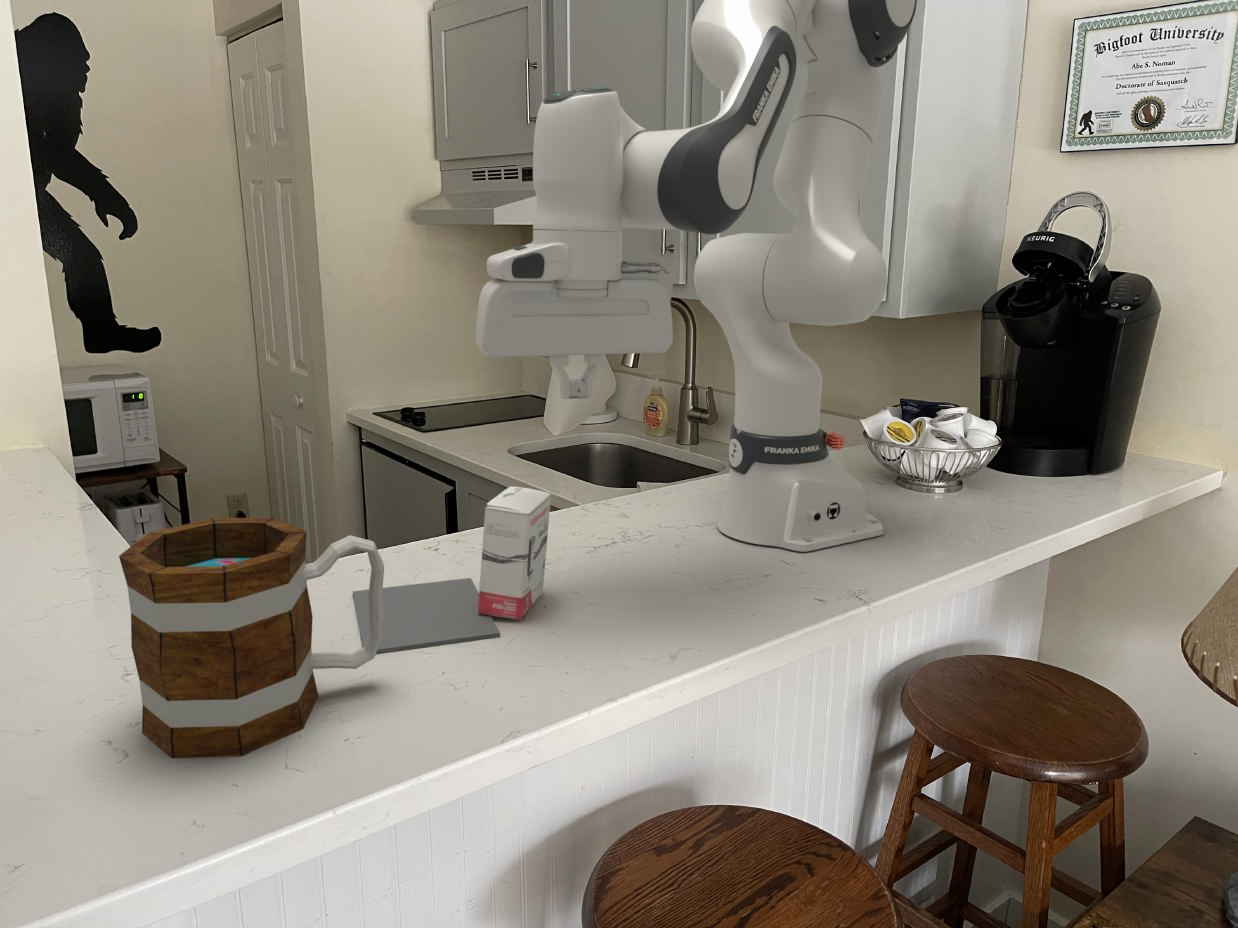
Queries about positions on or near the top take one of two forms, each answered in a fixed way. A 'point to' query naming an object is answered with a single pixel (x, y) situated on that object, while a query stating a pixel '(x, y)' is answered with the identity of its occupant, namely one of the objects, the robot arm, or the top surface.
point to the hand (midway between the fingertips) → (576, 397)
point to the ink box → (513, 552)
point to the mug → (232, 632)
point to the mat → (426, 615)
